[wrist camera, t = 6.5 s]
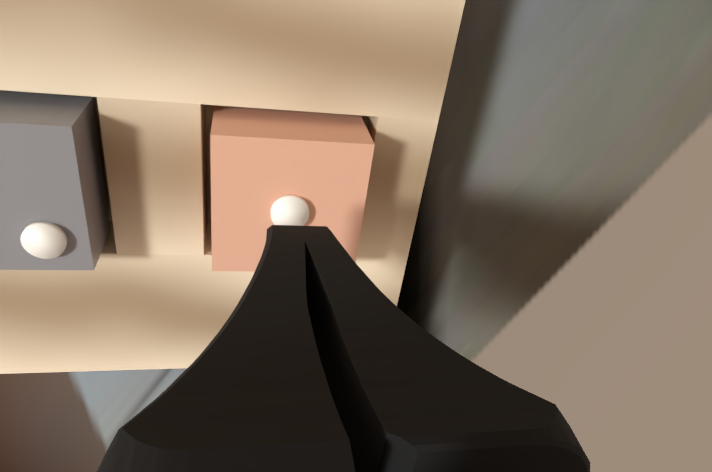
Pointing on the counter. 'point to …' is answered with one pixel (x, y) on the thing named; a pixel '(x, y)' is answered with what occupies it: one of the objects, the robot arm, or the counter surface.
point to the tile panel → (208, 152)
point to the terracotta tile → (284, 178)
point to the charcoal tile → (50, 183)
